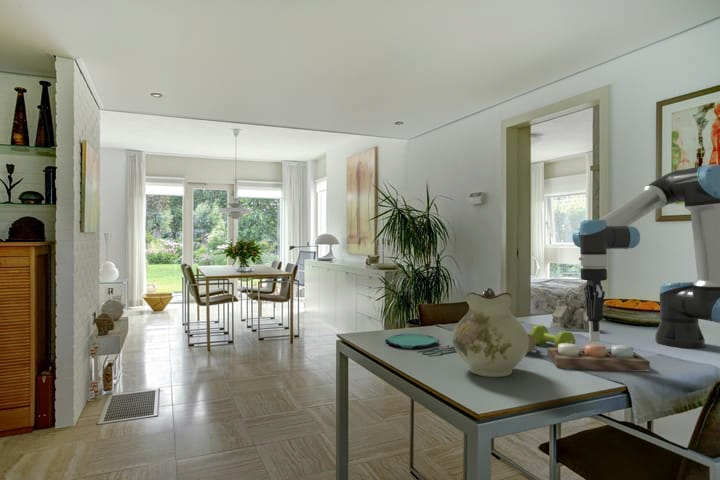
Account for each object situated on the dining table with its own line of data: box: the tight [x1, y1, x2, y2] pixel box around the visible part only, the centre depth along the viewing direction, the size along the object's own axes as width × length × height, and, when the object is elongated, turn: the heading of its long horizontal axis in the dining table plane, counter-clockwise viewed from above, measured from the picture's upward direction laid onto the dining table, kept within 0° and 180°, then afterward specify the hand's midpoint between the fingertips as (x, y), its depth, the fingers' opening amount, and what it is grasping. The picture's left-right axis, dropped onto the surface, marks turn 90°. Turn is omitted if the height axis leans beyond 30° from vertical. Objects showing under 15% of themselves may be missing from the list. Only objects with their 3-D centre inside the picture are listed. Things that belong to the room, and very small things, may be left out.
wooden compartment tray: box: [546, 347, 651, 371], centre depth 142 cm, size 26×14×3 cm, turn 78°
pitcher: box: [452, 287, 529, 378], centre depth 136 cm, size 22×24×25 cm
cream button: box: [558, 343, 579, 356], centre depth 144 cm, size 6×6×4 cm
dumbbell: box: [529, 324, 576, 348], centre depth 164 cm, size 16×8×7 cm, turn 20°
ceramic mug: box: [526, 332, 538, 354], centre depth 159 cm, size 11×8×8 cm
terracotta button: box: [583, 343, 606, 357], centre depth 142 cm, size 6×6×4 cm
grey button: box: [610, 344, 634, 358], centre depth 141 cm, size 6×6×4 cm
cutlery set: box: [384, 332, 457, 358], centre depth 169 cm, size 20×30×2 cm, turn 28°
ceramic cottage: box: [549, 294, 589, 333], centre depth 196 cm, size 16×16×15 cm
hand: (594, 340), depth 142 cm, fingers closed
